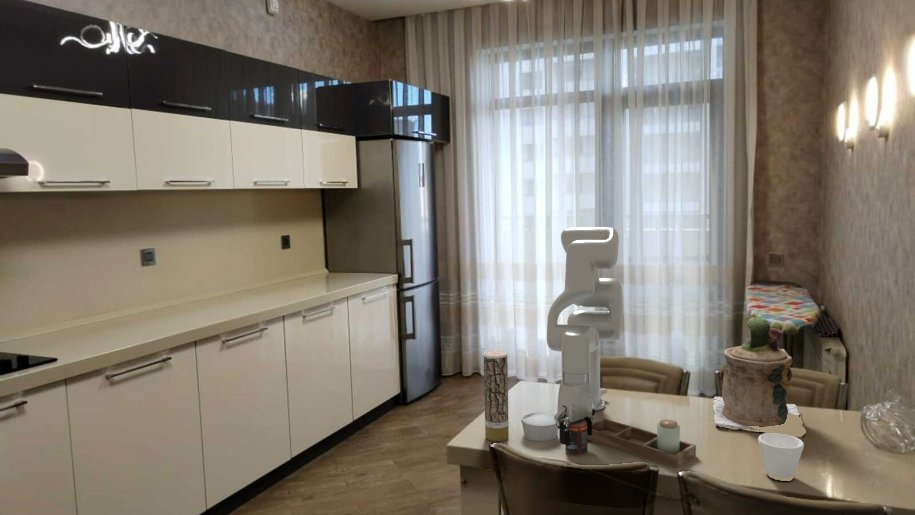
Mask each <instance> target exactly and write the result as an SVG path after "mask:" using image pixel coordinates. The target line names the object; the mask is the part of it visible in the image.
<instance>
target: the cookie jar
mask: <svg viewBox="0 0 915 515" xmlns="http://www.w3.org/2000/svg"><path fill="white" fill-rule="evenodd" d="M746 324H747V326H748V328H749V329H750V334H751V336H750V337H751V338H750V340H748V341H747V342H744V343H743V344H742V345H739V346H732V347H730V348H726V349H725V350H724V351H723V357H724V359H725V365H724V368H725V369H724V375H723V378H722V391H721V394H722V395H721V396H714V398H713V402H712V404H713V405H712V410H713V413H714V415H713V422H714V426H715V425H716V426H718V427H720V428H722V427H730V428H740V429H750V430H757V429H754V428H752V427H749V426H759V427H765V426H766V427H767V426H775V425H781V424H784V423H785V421H786V419H787V415H788V413H789V414H790V413H791V414H794V415H800V416H801V414H800V412H799V408H798V406H797V405H796V404H794V403H788V393H789V391H790V388H791V386H790V382H791V380H792V378H793V372H792V370H791V366H792V364H793V357H792V356H790V355H789V353H788V352H787V351H786V349H784V348H780V347H779V346H778V344H777V343H778V342H780V341H781V338H782V336H783V335H782V334H783V333H782V331H781V330H780V329H779V328H775V327H771V325H770V323H769V321H768V320H767V319H765V318H761V317H759V316H758V315H756V314H754V313H752V314H750V316H749V319H748V321H747V322H746ZM714 399H716V400H714ZM802 420H803V419H802ZM802 420H801V421H802ZM801 423H802V422H801ZM802 425H803V426H804V423H803V424H802ZM740 429H739V430H740ZM759 431H760V430H759Z"/></svg>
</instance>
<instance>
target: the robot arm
mask: <svg viewBox="0 0 915 515" xmlns="http://www.w3.org/2000/svg"><path fill="white" fill-rule="evenodd" d="M560 235H561V236H560V242H561V245H562V248H563V250H564V251H565V255H566V256H565V278H564V279H565V280H564V290H563V291H562V292H561V293H560V294H559V295H558V296H557V297H556V299H555V300H553V301H554V302H552V304H551V306H550V308H549V311H548V314H547V319H546V320H547V325H546V344H547V346H548V348H549V349H550V350H551V351H553V352H561V383H560V385H559V388H558V394H557V395H558V396H557V408H556V409H557V410H556V411H557V412H556V413H555V414H554V415H555V416H554V420H555V422H556V426H557V427H558V433H559V436H558V437H559V438H558V439H559V440H558V441H559V444H562V445H564V446H565V445H567V446H569V445H570V431H569V428H570V426H571V423H572V422H575V421H578V420H580V419H584V420H585V421H586V422H587V435H589V436H591V435H592V423H593V421H594V419H595V417H594V416H595V414H596V412H597V411H600V410H603V409H604V408H605V406H606V402H605V401H604V400H603V399H602V396H604V395H607V393H608V390H607V388H601V354H600V351H599V349H598V347H599V344H600V341H603V342H609V341H610V342H612V341H619V340H620V339H621V338H622V335H623V330H624V328H623V325H624V322H623V320H624V319H623V318H624V314H623V311H624V310H623V289H622V285H621V282H620V281H619V280H618V279H616V278H613V277H612V278H611V277H599V269H601V270H603V269H607V270H610V269H613V268H615V266H616V265H617V263H618V256H619V246H620V245H619V241H620V240H619V238H620V237H619V234H618V232H617V230H616V228H614V227H610V226H609V227H608V226H602V227H601V226H600V227H599V226H594V227H591V226H584V227H583V226H580V227H579V226H577V227H569V228H565V229H564V230H562V232H561V234H560ZM571 305H575V306H577V307H580V308H597V309H599V308H601V309H607V310H585V309H584V310H576V311H572V312H571V313H570V314H569V315H568V317H567V323H566V324H558V320H559V317H560V314H562V312H563V311H564V310H565V309H566V308H569V307H570V306H571ZM568 418H569V419H568ZM565 422H567V424H566V425H565Z"/></svg>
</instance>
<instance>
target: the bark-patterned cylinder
mask: <svg viewBox="0 0 915 515" xmlns="http://www.w3.org/2000/svg"><path fill="white" fill-rule="evenodd" d="M508 365H509V364H508V352H506V351H503V350H488V351H485V352H484V353H483V390H484V392H483V393H484V399H483V400H484V434H485V435H484V436H485V438H486V439H487V440H489V441H491V442H496V441H498V442H504V441H506V440H507V439H508V438H509V433H510V432H509V427H510V426H509V424H510V422H509V381H508V379H509V378H508V376H509V375H508V374H509V373H508Z"/></svg>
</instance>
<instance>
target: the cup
mask: <svg viewBox="0 0 915 515" xmlns="http://www.w3.org/2000/svg"><path fill="white" fill-rule="evenodd" d="M757 442H758V445H759V447H760V451H761V456H762V460H763V461H762V462H763V466H764V470H765V474H766V473H767V474H770V475H772V476H774V477H780V478H789V477H793V476H794V477H795V475H796V472H797V469H798V466H799V463H800V462H799V461H800V459H801V456H802V453H803V451H804V448H805V443H804V442H803V441H802V439H800V438H799V437H794V436H791V435H787V434H781V433H761V434H760V435H759V436H758V438H757Z"/></svg>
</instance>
